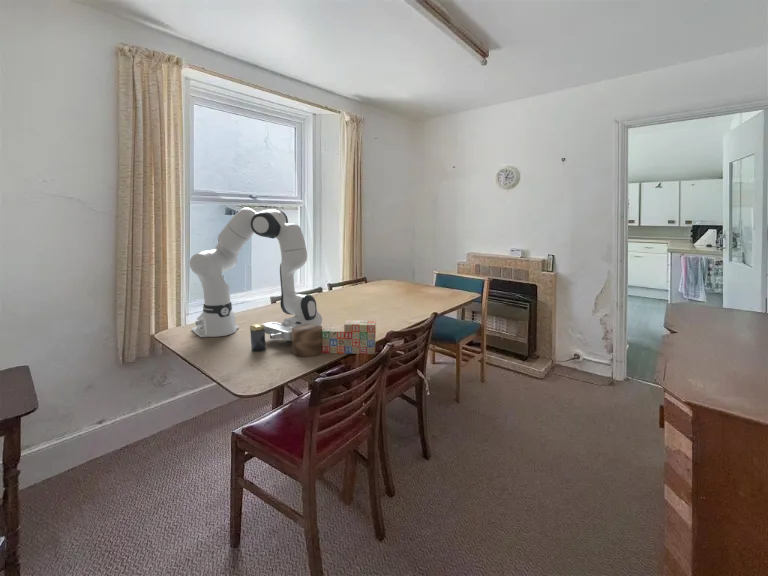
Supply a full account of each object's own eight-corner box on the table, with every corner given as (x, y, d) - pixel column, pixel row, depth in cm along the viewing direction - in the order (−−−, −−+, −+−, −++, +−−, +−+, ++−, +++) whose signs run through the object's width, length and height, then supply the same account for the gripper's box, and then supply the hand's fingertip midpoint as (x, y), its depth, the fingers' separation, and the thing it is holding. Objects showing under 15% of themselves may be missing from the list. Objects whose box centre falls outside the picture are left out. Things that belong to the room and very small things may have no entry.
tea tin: (248, 349, 157) (247, 326, 156) (260, 346, 162) (259, 323, 160) (256, 352, 154) (255, 328, 152) (268, 349, 158) (267, 325, 156)
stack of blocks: (321, 353, 154) (321, 323, 152) (324, 348, 160) (324, 319, 158) (374, 354, 153) (374, 324, 151) (375, 349, 160) (375, 320, 157)
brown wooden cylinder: (286, 352, 154) (285, 328, 153) (309, 345, 164) (308, 322, 162) (306, 359, 147) (305, 334, 145) (328, 351, 156) (328, 327, 155)
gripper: (276, 316, 176) (249, 323, 165) (305, 324, 163) (278, 332, 153) (276, 330, 177) (250, 337, 166) (306, 339, 164) (279, 347, 154)
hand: (264, 334), depth 159 cm, fingers open, 8 cm apart
